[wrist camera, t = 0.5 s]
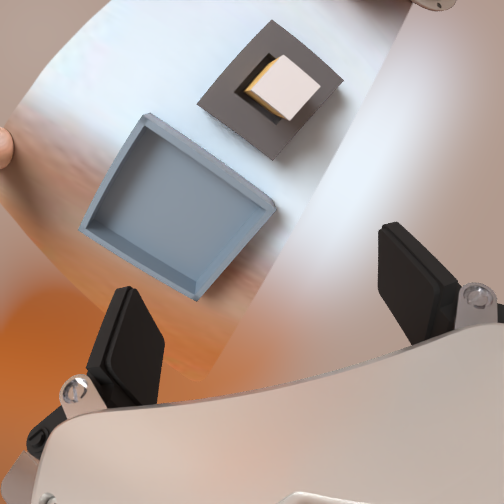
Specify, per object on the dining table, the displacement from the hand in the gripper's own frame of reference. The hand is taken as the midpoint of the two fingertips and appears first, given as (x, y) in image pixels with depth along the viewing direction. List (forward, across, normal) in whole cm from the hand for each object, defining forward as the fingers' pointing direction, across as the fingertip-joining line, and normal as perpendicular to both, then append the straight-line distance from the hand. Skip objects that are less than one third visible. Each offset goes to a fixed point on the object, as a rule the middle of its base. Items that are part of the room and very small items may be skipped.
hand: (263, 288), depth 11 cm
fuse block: (+26, -5, -6) cm, 28 cm away
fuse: (+26, -5, -6) cm, 27 cm away
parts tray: (+26, +9, +5) cm, 28 cm away
